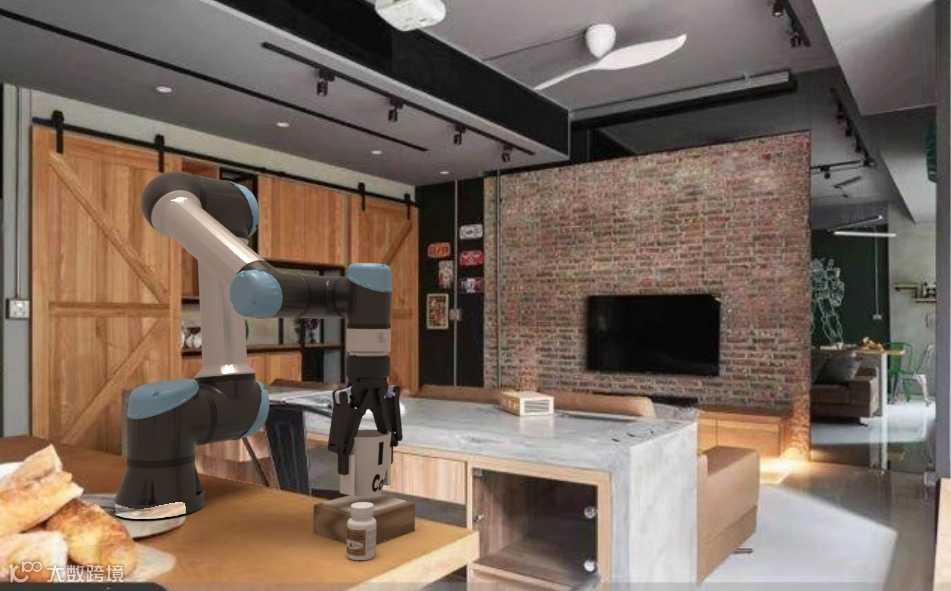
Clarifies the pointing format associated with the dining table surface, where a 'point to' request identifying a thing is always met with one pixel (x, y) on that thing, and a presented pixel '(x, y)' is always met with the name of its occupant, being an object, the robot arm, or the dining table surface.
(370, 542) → the pill bottle
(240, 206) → the robot arm
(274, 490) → the dining table surface
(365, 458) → the cup
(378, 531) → the pedestal
